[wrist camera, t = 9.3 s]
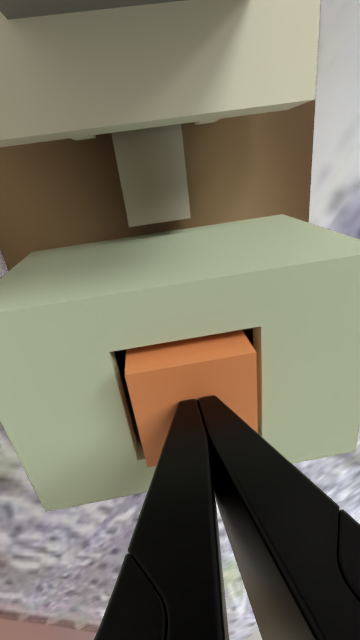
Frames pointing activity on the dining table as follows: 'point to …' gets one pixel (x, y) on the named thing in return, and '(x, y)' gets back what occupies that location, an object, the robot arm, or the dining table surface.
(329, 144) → the dining table surface
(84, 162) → the rail track
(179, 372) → the button
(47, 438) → the cabinet
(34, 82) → the carriage
